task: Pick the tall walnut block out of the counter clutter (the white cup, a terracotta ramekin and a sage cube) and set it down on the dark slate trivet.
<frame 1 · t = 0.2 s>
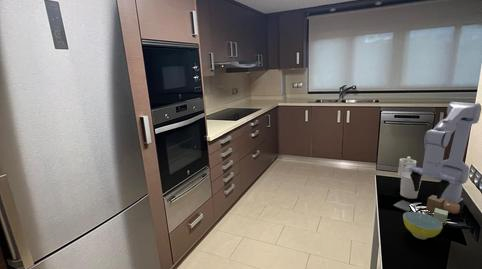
hand: (427, 194, 102), 10 cm above the worktop, fingers open, 7 cm apart
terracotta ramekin: (449, 210, 109), on the worktop
bowl: (419, 236, 92), on the worktop
slate trivet: (407, 207, 111), on the worktop
walnut block: (434, 211, 108), on the worktop
white cup: (408, 195, 122), on the worktop
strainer: (404, 186, 132), on the worktop
sage cube: (439, 220, 101), on the worktop
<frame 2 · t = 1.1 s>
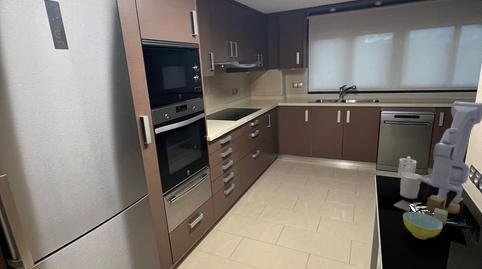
hand: (435, 203, 107), 4 cm above the worktop, fingers open, 7 cm apart
nothing on the worktop moved.
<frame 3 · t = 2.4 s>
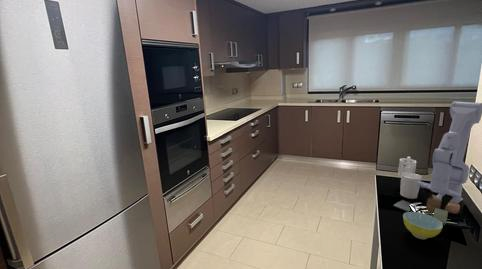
hand: (434, 208, 107), 1 cm above the worktop, fingers closed on walnut block, 4 cm apart
walnut block: (434, 211, 108), on the worktop, touching gripper
everything else where it was.
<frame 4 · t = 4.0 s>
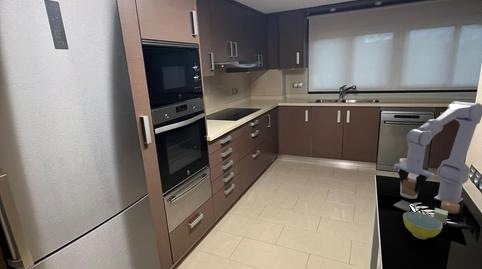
hand: (410, 189, 109), 8 cm above the worktop, fingers closed on walnut block, 4 cm apart
walnut block: (409, 193, 110), point 6 cm above the worktop, touching gripper
everything else where it was.
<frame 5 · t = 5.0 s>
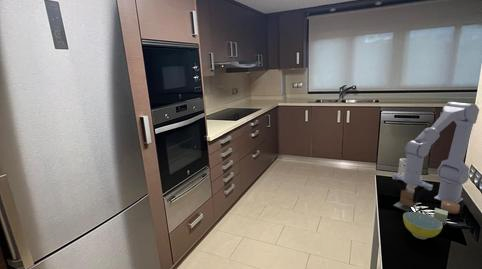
hand: (408, 199, 111), 3 cm above the worktop, fingers closed on walnut block, 4 cm apart
walnut block: (407, 203, 111), point 2 cm above the worktop, touching gripper
everything else where it was.
when the fingers open (3 cm above the worktop, at t = 5.6 s): walnut block drops 1 cm, resting on slate trivet.
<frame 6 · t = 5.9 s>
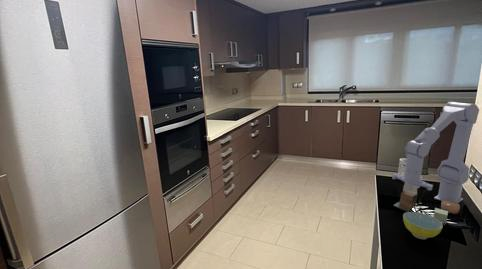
hand: (408, 199, 111), 3 cm above the worktop, fingers open, 6 cm apart
walnut block: (407, 206, 111), resting on slate trivet
everything else where it was.
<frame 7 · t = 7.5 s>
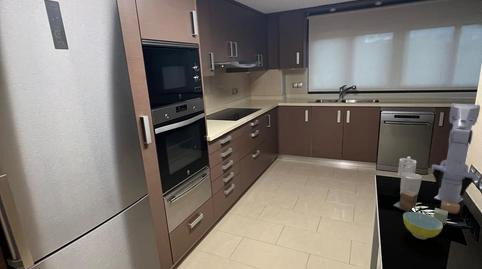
hand: (449, 191, 105), 9 cm above the worktop, fingers open, 7 cm apart
nothing on the worktop moved.
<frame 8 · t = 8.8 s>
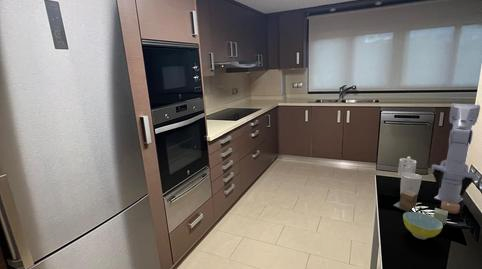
hand: (449, 191, 105), 9 cm above the worktop, fingers open, 7 cm apart
nothing on the worktop moved.
at the end: walnut block inside the target area on the slate trivet (0.2 cm from its centre), point 0.5 cm above the slate trivet's base; walnut block tilted 0°; the gripper is holding nothing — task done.
